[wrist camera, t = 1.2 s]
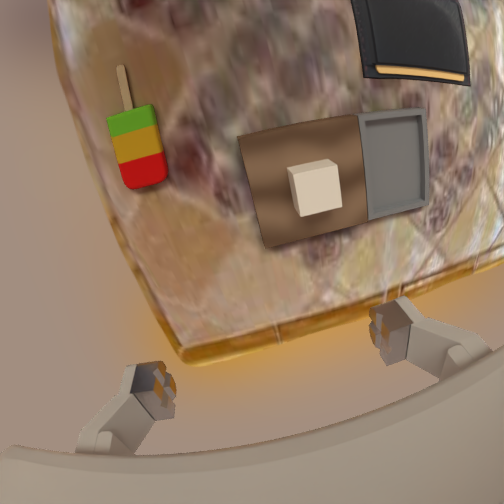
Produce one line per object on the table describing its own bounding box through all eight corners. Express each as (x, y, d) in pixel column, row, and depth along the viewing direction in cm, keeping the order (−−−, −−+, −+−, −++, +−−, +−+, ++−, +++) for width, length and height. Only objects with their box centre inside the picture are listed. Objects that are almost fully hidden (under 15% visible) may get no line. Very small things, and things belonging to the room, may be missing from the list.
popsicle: (129, 188, 35) (125, 193, 33) (100, 73, 27) (95, 72, 26) (171, 177, 35) (169, 181, 33) (144, 58, 28) (140, 56, 26)
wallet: (465, 0, 23) (476, 91, 30) (457, 1, 25) (467, 90, 32) (348, -32, 22) (364, 77, 30) (342, -28, 24) (357, 77, 31)
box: (352, 114, 33) (358, 115, 32) (418, 107, 33) (425, 108, 31) (363, 215, 40) (368, 220, 39) (422, 200, 40) (428, 204, 38)
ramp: (237, 136, 33) (238, 138, 31) (350, 114, 33) (357, 115, 31) (263, 241, 40) (265, 248, 38) (361, 216, 40) (367, 222, 38)
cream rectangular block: (286, 167, 34) (293, 174, 31) (327, 158, 34) (337, 164, 31) (294, 207, 36) (300, 217, 34) (333, 197, 36) (342, 206, 33)
